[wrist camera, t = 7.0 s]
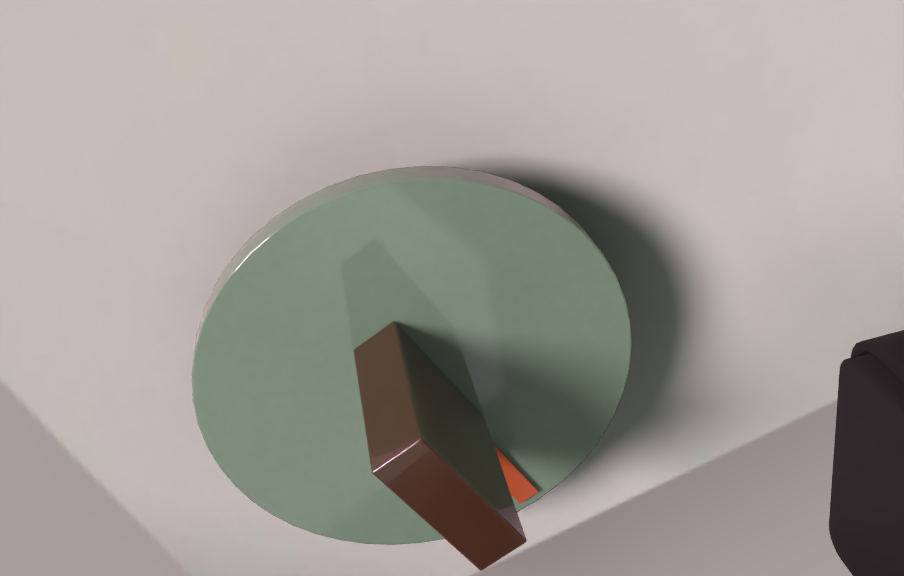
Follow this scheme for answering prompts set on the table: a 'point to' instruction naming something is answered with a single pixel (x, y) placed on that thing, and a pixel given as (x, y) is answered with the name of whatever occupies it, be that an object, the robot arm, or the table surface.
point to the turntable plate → (449, 299)
